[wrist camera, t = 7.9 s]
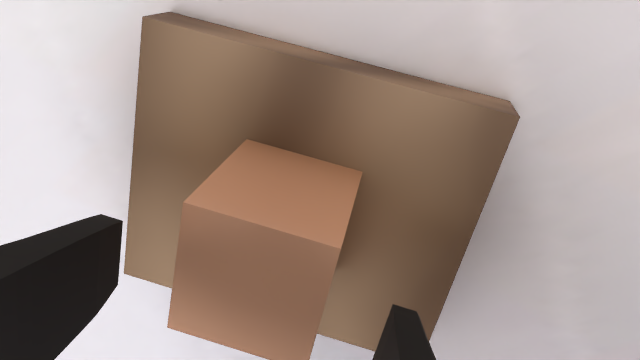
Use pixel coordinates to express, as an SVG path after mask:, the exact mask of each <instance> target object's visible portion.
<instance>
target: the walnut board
mask: <svg viewBox="0 0 640 360" xmlns="http://www.w3.org/2000/svg"><path fill="white" fill-rule="evenodd" d="M519 118H520V116H519V115H518V113H517V112H516V110H515V109H514V107H513V106H512V104H511V102H510V101H506V100H503V99H499V98H495V97H491V96H487V95H484V94H480V93H476V92H472V91H468V90H465V89H461V88H457V87H453V86H449V85H446V84H442V83H438V82H434V81H430V80H427V79H423V78H419V77H415V76H411V75H408V74H404V73H400V72H396V71H392V70H389V69H385V68H381V67H377V66H373V65H370V64H366V63H362V62H358V61H354V60H351V59H347V58H343V57H339V56H335V55H332V54H328V53H324V52H320V51H316V50H313V49H309V48H305V47H301V46H297V45H294V44H290V43H286V42H282V41H278V40H275V39H271V38H267V37H263V36H259V35H256V34H252V33H248V32H244V31H240V30H237V29H233V28H229V27H225V26H221V25H218V24H214V23H210V22H206V21H202V20H199V19H195V18H191V17H187V16H183V15H180V14H176V13H172V12H166V13H160V14H155V15H149V16H143V17H142V31H141V45H140V58H139V72H138V86H137V100H136V114H135V128H134V141H133V155H132V169H131V183H130V197H129V211H128V224H127V238H126V252H125V266H124V274H127V275H131V276H134V277H137V278H140V279H143V280H147V281H150V282H153V283H156V284H160V285H163V286H166V287H169V288H172V286H173V278H174V270H175V262H176V254H177V246H178V238H179V231H180V223H181V215H182V207H183V202H184V201H185V200H186V199H187V198H188V197H189V196H190V195H191V194H192V193H193V192H194V191H195V190H196V189H197V188H198V187H199V186H200V185H201V184H202V183H203V182H204V181H205V180H206V179H207V178H208V177H209V176H210V175H211V174H212V173H213V172H214V171H215V170H216V169H217V168H218V167H219V166H220V165H221V164H222V163H223V162H224V161H225V160H226V159H227V158H228V157H229V156H230V155H231V154H232V153H233V152H234V151H235V150H236V149H237V148H238V147H239V146H240V145H241V144H242V143H243V142H244V141H245V140H246V139H248V140H252V141H255V142H259V143H263V144H266V145H270V146H273V147H277V148H280V149H284V150H287V151H291V152H294V153H298V154H301V155H305V156H309V157H312V158H316V159H319V160H323V161H326V162H330V163H333V164H337V165H340V166H344V167H347V168H351V169H355V170H358V171H362V172H363V173H362V176H361V180H360V183H359V187H358V190H357V194H356V198H355V201H354V205H353V208H352V212H351V215H350V219H349V222H348V226H347V229H346V233H345V237H344V240H343V244H342V247H341V251H340V254H339V258H338V261H337V265H336V268H335V272H334V275H333V279H332V282H331V286H330V289H329V293H328V296H327V300H326V303H325V307H324V310H323V313H322V317H321V320H320V324H319V327H318V331H317V334H321V335H324V336H327V337H330V338H333V339H337V340H340V341H343V342H346V343H349V344H353V345H356V346H359V347H362V348H366V349H369V350H372V351H376V349H377V346H378V343H379V340H380V338H381V335H382V332H383V329H384V327H385V324H386V321H387V318H388V316H389V313H390V310H391V307H392V304H395V305H398V306H401V307H404V308H408V309H411V310H414V311H417V313H418V315H419V316H420V319H421V322H422V325H423V328H424V331H425V333H426V336H427V338H428V341H429V340H430V337H431V335H432V332H433V330H434V327H435V325H436V322H437V320H438V318H439V315H440V313H441V310H442V308H443V305H444V303H445V300H446V298H447V295H448V293H449V290H450V288H451V286H452V283H453V281H454V278H455V276H456V273H457V271H458V268H459V266H460V263H461V261H462V258H463V256H464V254H465V251H466V249H467V246H468V244H469V241H470V239H471V236H472V234H473V231H474V229H475V226H476V224H477V222H478V219H479V217H480V214H481V212H482V209H483V207H484V204H485V202H486V199H487V197H488V194H489V192H490V190H491V187H492V185H493V182H494V180H495V177H496V175H497V172H498V170H499V167H500V165H501V162H502V160H503V158H504V155H505V153H506V150H507V148H508V145H509V143H510V140H511V138H512V135H513V133H514V130H515V128H516V126H517V123H518V121H519Z"/></svg>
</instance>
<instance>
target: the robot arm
mask: <svg viewBox="0 0 640 360" xmlns="http://www.w3.org/2000/svg"><path fill="white" fill-rule="evenodd" d="M122 224H123V221H121V220H118V219H115V218H111V217H108V216H105V215H102V214H100V215H96V216H93V217H89V218H86V219H83V220H79V221H76V222H73V223H70V224H67V225H64V226H61V227H58V228H55V229H52V230H49V231H46V232H43V233H40V234H37V235H34V236H31V237H28V238H25V239H21V240H18V241H14V242H11V243H8V244H4V245H1V246H0V360H54V359H55V358H56V357H57V356H58V355H59V354H60V353H61V352H62V351H63V350H64V349H65V348H66V347H67V346H68V345H69V344H70V343H71V342H72V340H73V339H74V338H75V337H76V336H77V335H78V334H79V333H80V332H81V331H82V330H83V329H84V328H85V327H86V326H87V324H88V323H89V322H90V321H91V320H92V319H93V318H94V317H95V316H96V314H97V313H98V312H99V310H100V309H101V308H102V306H103V305H104V304H105V302H106V301H107V299H108V298H109V297H110V295H111V294H112V292H113V291H114V289H115V288H116V287H117V285H118V276H119V263H120V250H121V237H122ZM373 360H436V358H435V356H434V353H433V351H432V349H431V346H430V344H429V341H428V338H427V336H426V333H425V331H424V328H423V325H422V322H421V319H420V316H419V315H418V313H417V311H414V310H411V309H408V308H404V307H401V306H398V305H395V304H392V307H391V310H390V313H389V316H388V318H387V321H386V324H385V327H384V329H383V332H382V335H381V338H380V340H379V343H378V346H377V349H376V351H375V354H374V357H373Z"/></svg>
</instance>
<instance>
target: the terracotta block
mask: <svg viewBox="0 0 640 360" xmlns="http://www.w3.org/2000/svg"><path fill="white" fill-rule="evenodd" d="M362 173H363V172H362V171H358V170H355V169H351V168H347V167H344V166H340V165H337V164H333V163H330V162H326V161H323V160H319V159H316V158H312V157H309V156H305V155H301V154H298V153H294V152H291V151H287V150H284V149H280V148H277V147H273V146H270V145H266V144H263V143H259V142H255V141H252V140H248V139H246V140H245V141H244V142H243V143H242V144H241V145H240V146H239V147H238V148H237V149H236V150H235V151H234V152H233V153H232V154H231V155H230V156H229V157H228V158H227V159H226V160H225V161H224V162H223V163H222V164H221V165H220V166H219V167H218V168H217V169H216V170H215V171H214V172H213V173H212V174H211V175H210V176H209V177H208V178H207V179H206V180H205V181H204V182H203V183H202V184H201V185H200V186H199V187H198V188H197V189H196V190H195V191H194V192H193V193H192V194H191V195H190V196H189V197H188V198H187V199H186V200H185V201H184V202H183V207H182V215H181V223H180V231H179V238H178V246H177V254H176V262H175V270H174V278H173V286H172V294H171V302H170V310H169V318H168V326H167V328H171V329H174V330H177V331H180V332H183V333H186V334H190V335H193V336H196V337H199V338H202V339H205V340H209V341H212V342H215V343H218V344H221V345H224V346H228V347H231V348H234V349H237V350H240V351H243V352H247V353H250V354H253V355H256V356H259V357H262V358H266V359H269V360H309V359H310V355H311V352H312V348H313V345H314V341H315V338H316V334H317V331H318V327H319V324H320V320H321V317H322V313H323V310H324V307H325V303H326V300H327V296H328V293H329V289H330V286H331V282H332V279H333V275H334V272H335V268H336V265H337V261H338V258H339V254H340V251H341V247H342V244H343V240H344V237H345V233H346V229H347V226H348V222H349V219H350V215H351V212H352V208H353V205H354V201H355V198H356V194H357V190H358V187H359V183H360V180H361V176H362Z"/></svg>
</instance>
